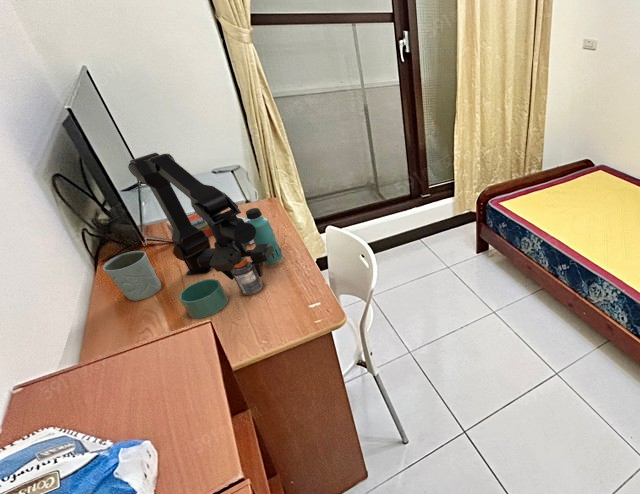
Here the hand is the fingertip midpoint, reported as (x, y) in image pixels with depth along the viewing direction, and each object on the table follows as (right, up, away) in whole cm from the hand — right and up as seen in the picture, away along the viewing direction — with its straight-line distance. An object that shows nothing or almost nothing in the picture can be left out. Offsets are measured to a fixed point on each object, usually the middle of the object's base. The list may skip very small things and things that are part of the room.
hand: (247, 277), depth 120 cm
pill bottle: (0, -4, +3) cm, 5 cm away
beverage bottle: (0, +3, +14) cm, 15 cm away
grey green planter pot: (-34, -5, +4) cm, 35 cm away
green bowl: (-9, -8, -3) cm, 13 cm away
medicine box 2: (-17, +11, +27) cm, 33 cm away
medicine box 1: (-37, +13, +32) cm, 50 cm away
